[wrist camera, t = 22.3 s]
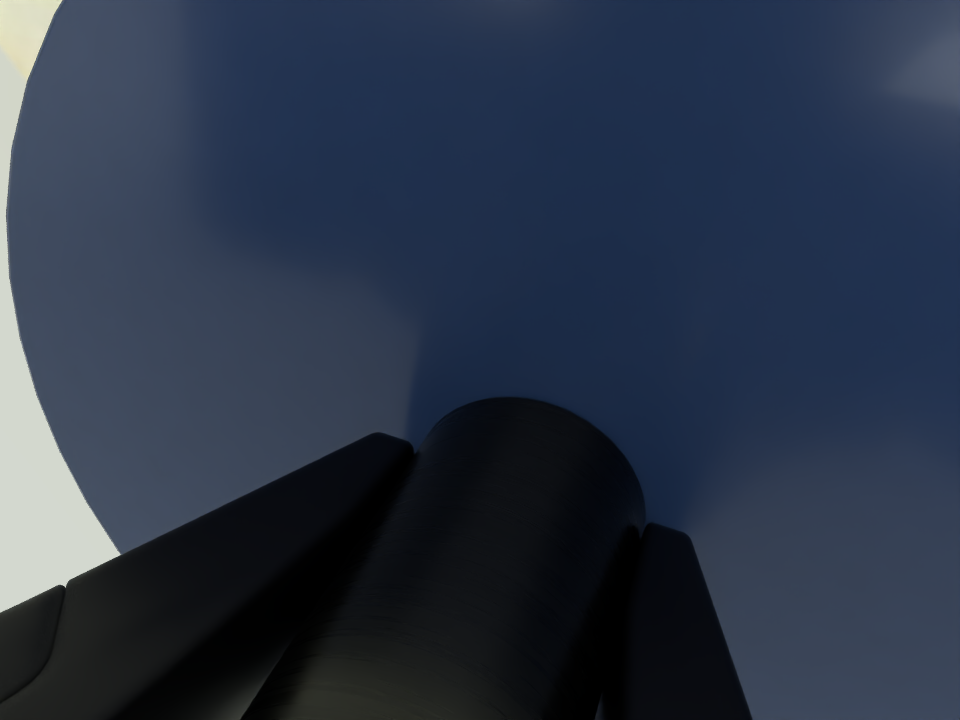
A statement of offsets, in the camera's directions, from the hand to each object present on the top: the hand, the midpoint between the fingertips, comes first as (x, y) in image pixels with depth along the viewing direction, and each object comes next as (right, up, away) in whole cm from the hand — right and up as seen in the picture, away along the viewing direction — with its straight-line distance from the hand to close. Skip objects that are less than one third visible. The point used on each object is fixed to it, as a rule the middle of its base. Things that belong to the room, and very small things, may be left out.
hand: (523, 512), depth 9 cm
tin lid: (0, +1, +1) cm, 1 cm away
